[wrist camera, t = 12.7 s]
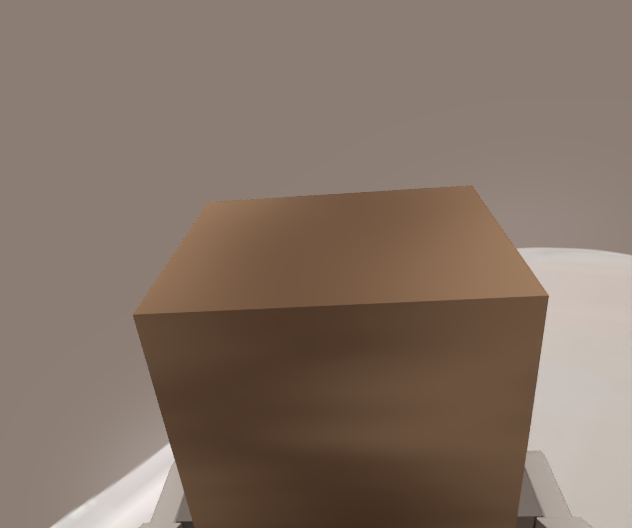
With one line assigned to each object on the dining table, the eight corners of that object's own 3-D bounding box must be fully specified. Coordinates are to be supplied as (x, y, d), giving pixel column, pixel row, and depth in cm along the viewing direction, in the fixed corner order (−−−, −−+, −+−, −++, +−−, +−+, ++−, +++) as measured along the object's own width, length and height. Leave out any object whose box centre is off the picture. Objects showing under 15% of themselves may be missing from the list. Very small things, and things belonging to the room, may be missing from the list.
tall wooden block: (443, 599, 16) (464, 175, 10) (477, 799, 12) (548, 295, 6) (288, 599, 17) (215, 191, 10) (271, 792, 13) (132, 314, 6)
